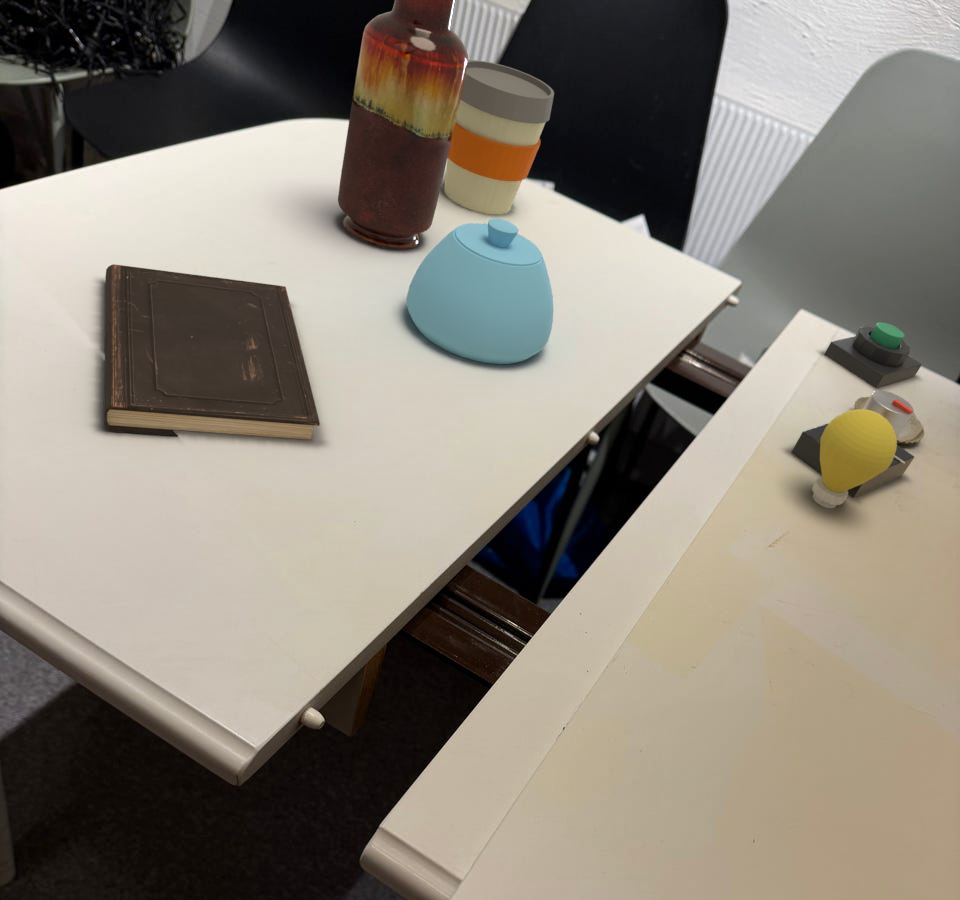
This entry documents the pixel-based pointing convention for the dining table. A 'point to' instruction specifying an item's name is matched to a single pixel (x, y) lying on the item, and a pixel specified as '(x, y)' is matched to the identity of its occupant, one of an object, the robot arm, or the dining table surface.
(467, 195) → the reusable coffee cup
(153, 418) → the hardcover book
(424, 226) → the vase
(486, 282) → the sugar bowl
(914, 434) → the seashell
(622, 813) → the dining table surface
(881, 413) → the program dial
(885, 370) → the block
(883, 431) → the light bulb
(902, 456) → the washer panel
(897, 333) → the button
